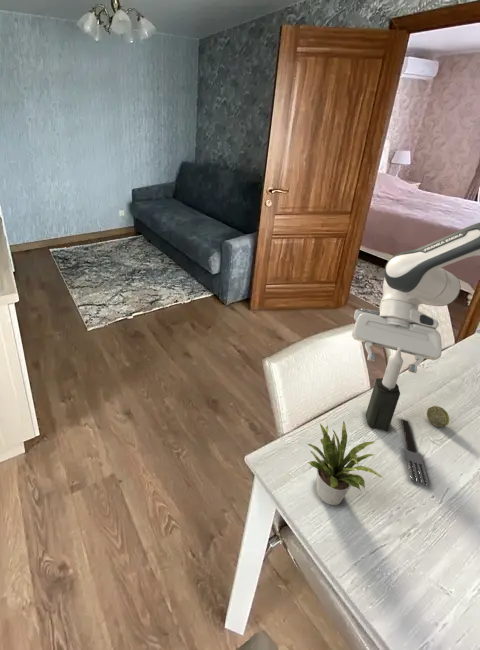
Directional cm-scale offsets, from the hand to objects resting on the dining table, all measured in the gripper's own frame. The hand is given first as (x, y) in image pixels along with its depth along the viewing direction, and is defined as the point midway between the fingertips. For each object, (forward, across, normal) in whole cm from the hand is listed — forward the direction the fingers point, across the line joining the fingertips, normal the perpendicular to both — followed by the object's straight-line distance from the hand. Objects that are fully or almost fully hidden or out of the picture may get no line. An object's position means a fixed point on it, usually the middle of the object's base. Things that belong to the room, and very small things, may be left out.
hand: (391, 366), depth 90 cm
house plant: (+33, -9, -8) cm, 35 cm away
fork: (+18, +8, +6) cm, 20 cm away
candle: (+14, 0, +10) cm, 18 cm away
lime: (+9, +14, +15) cm, 23 cm away
